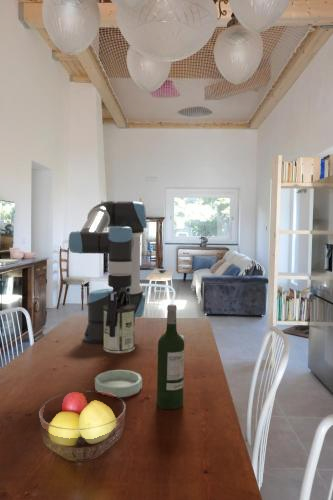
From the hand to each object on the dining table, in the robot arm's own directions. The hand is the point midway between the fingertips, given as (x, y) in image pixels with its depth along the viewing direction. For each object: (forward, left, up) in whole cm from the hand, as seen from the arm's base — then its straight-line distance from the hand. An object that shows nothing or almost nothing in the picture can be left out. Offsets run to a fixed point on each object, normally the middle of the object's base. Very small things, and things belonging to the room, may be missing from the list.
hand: (119, 341), depth 126 cm
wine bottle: (+7, +19, -16) cm, 26 cm away
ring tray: (0, 0, -15) cm, 15 cm away
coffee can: (0, 0, -2) cm, 2 cm away
